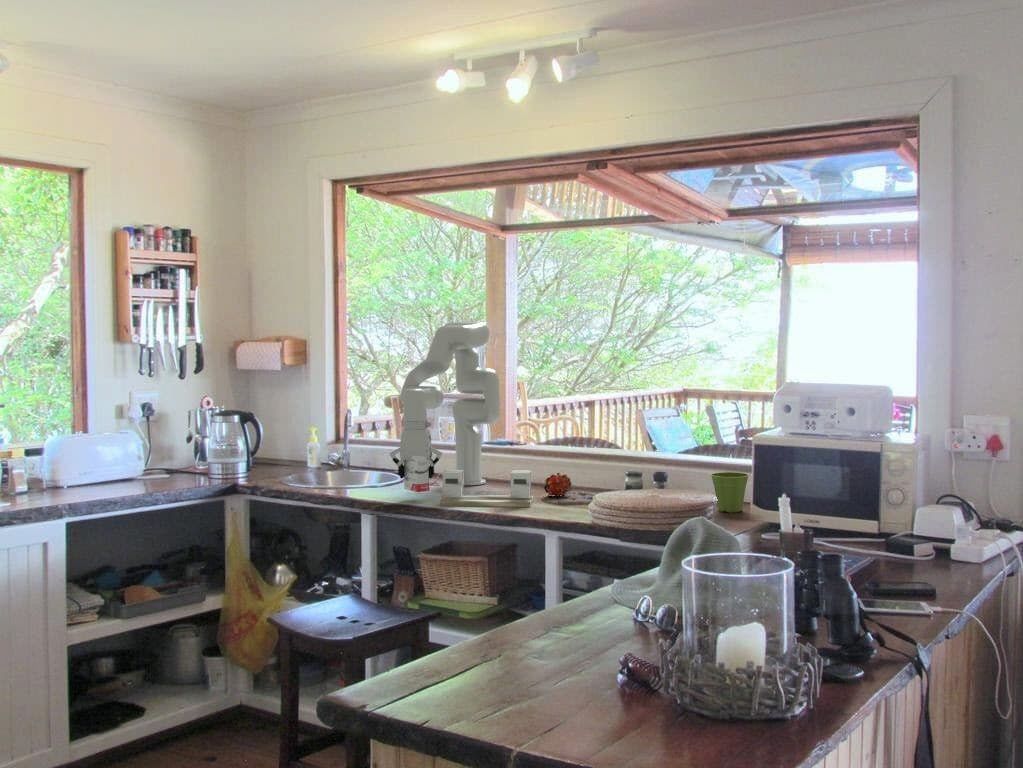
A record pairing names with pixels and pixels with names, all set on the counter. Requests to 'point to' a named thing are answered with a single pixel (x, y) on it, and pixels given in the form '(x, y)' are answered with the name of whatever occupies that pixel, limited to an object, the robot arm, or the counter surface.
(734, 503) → the plant pot
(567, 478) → the dragon fruit
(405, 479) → the ink box
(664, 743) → the counter surface
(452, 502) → the rail board
